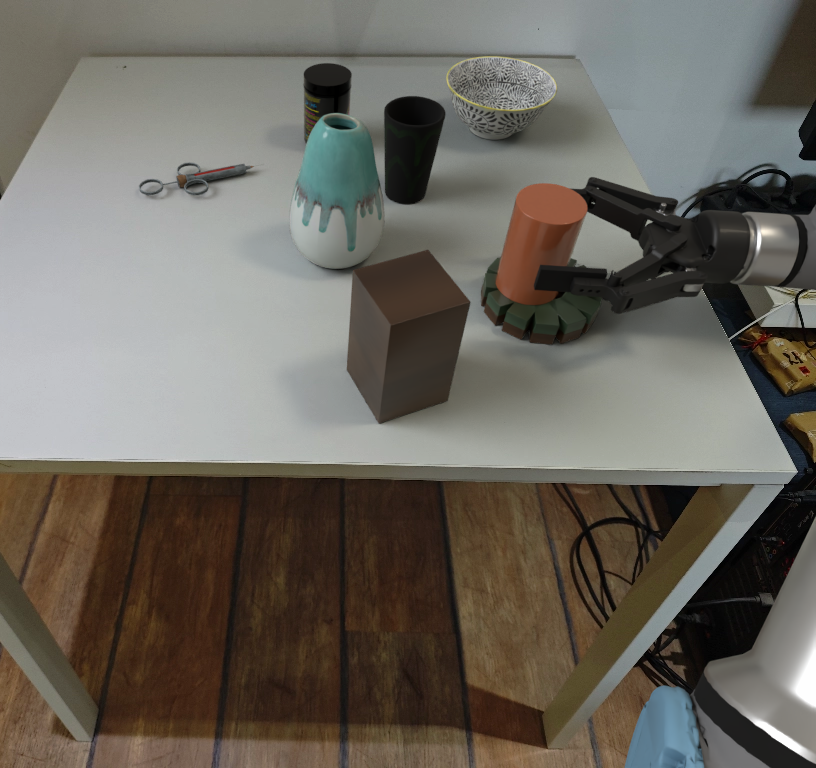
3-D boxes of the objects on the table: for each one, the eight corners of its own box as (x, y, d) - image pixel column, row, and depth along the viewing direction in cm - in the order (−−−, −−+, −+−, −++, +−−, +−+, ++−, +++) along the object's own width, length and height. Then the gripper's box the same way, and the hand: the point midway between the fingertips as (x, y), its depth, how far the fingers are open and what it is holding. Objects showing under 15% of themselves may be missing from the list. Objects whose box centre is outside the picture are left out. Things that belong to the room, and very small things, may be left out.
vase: (361, 215, 96) (370, 85, 82) (395, 269, 89) (411, 137, 75) (278, 233, 94) (273, 102, 80) (306, 289, 86) (306, 156, 73)
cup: (395, 170, 103) (403, 89, 94) (442, 188, 100) (456, 106, 91) (366, 196, 99) (372, 114, 90) (415, 215, 96) (426, 133, 87)
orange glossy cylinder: (566, 304, 80) (597, 223, 72) (502, 306, 80) (525, 225, 72) (549, 262, 85) (576, 181, 77) (489, 264, 85) (508, 183, 76)
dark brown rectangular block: (447, 401, 75) (471, 301, 64) (378, 424, 73) (390, 325, 62) (412, 349, 80) (428, 249, 69) (346, 369, 78) (352, 269, 67)
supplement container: (335, 159, 105) (338, 90, 97) (295, 147, 107) (294, 78, 99) (356, 137, 109) (360, 69, 101) (316, 126, 111) (317, 59, 103)
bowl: (566, 133, 109) (580, 85, 104) (494, 169, 103) (505, 120, 97) (488, 92, 118) (498, 46, 112) (417, 123, 111) (423, 76, 106)
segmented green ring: (617, 325, 82) (626, 306, 80) (520, 356, 79) (526, 337, 77) (551, 257, 90) (557, 238, 88) (460, 284, 87) (464, 264, 85)
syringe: (273, 184, 101) (272, 173, 100) (146, 210, 97) (143, 199, 96) (256, 155, 106) (256, 145, 104) (134, 179, 102) (132, 169, 100)
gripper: (754, 358, 71) (534, 343, 72) (690, 208, 87) (512, 197, 88) (793, 302, 65) (553, 286, 66) (717, 152, 81) (526, 142, 83)
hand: (529, 235), depth 77 cm, fingers open, 13 cm apart
